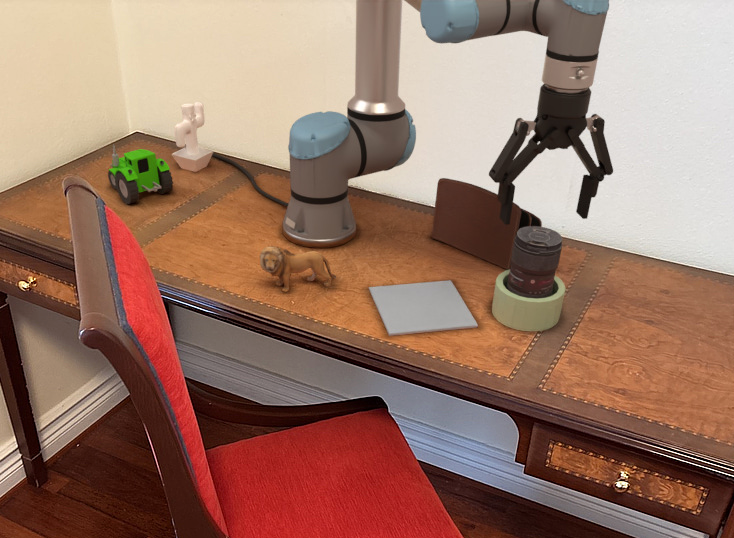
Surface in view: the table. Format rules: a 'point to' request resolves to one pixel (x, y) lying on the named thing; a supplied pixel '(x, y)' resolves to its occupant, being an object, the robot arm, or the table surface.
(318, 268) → the lion figurine
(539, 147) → the robot arm
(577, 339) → the table surface
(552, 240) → the camera lens
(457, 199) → the letter holder
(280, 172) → the table surface
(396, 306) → the mat
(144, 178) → the toy tractor
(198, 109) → the figurine
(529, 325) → the bowl
